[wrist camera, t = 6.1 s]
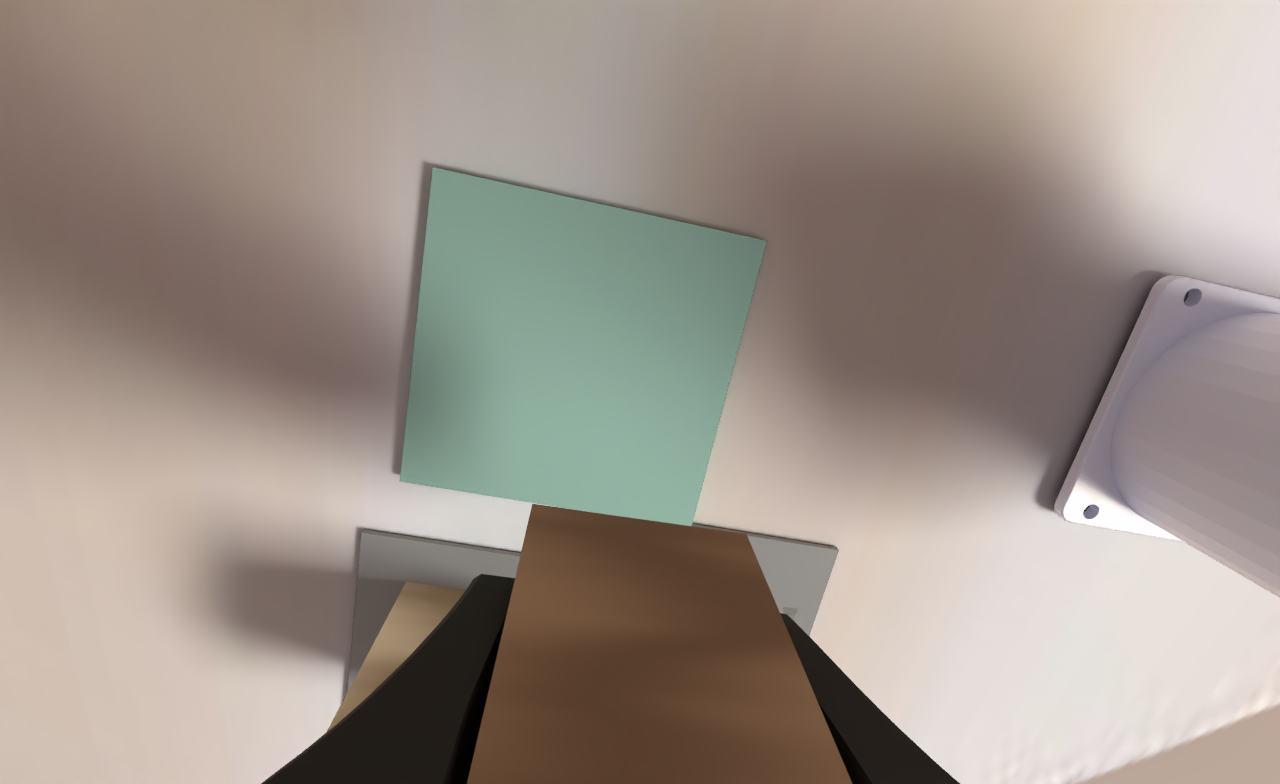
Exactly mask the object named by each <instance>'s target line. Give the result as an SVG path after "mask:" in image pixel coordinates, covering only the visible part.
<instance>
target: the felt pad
mask: <svg viewBox="0 0 1280 784" xmlns="http://www.w3.org/2000/svg"><path fill="white" fill-rule="evenodd" d="M766 242H767V241H766V240H761V239H757V238H752V237H748V236H743V235H739V234H734V233H730V232H725V231H721V230H716V229H712V228H707V227H702V226H698V225H693V224H689V223H684V222H680V221H675V220H671V219H666V218H662V217H657V216H653V215H648V214H643V213H639V212H634V211H630V210H625V209H621V208H616V207H612V206H607V205H603V204H598V203H594V202H589V201H584V200H580V199H575V198H571V197H566V196H562V195H557V194H553V193H548V192H544V191H539V190H535V189H530V188H525V187H521V186H516V185H512V184H507V183H503V182H498V181H494V180H489V179H485V178H480V177H475V176H471V175H466V174H462V173H457V172H453V171H448V170H444V169H439V168H435V167H433V169H432V178H431V188H430V197H429V207H428V216H427V226H426V235H425V245H424V254H423V264H422V273H421V283H420V292H419V302H418V311H417V321H416V330H415V340H414V349H413V359H412V368H411V378H410V387H409V397H408V406H407V416H406V425H405V435H404V444H403V454H402V464H401V473H400V481H401V482H407V483H414V484H420V485H426V486H432V487H438V488H445V489H451V490H457V491H463V492H469V493H476V494H482V495H488V496H494V497H501V498H507V499H513V500H519V501H525V502H532V503H538V504H544V505H550V506H557V507H563V508H569V509H575V510H581V511H588V512H594V513H600V514H608V515H615V516H622V517H629V518H636V519H643V520H650V521H658V522H665V523H672V524H679V525H686V526H692V523H693V519H694V515H695V512H696V508H697V504H698V500H699V496H700V493H701V489H702V485H703V481H704V477H705V474H706V470H707V466H708V462H709V458H710V455H711V451H712V447H713V443H714V440H715V436H716V432H717V428H718V424H719V421H720V417H721V413H722V409H723V405H724V402H725V398H726V394H727V390H728V386H729V383H730V379H731V375H732V371H733V368H734V364H735V360H736V356H737V352H738V349H739V345H740V341H741V337H742V333H743V330H744V326H745V322H746V318H747V314H748V311H749V307H750V303H751V299H752V295H753V292H754V288H755V284H756V280H757V277H758V273H759V269H760V265H761V261H762V258H763V254H764V250H765V246H766Z"/></svg>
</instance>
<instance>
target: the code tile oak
mask: <svg viewBox="0 0 1280 784" xmlns="http://www.w3.org/2000/svg"><path fill="white" fill-rule="evenodd" d="M520 556H521V553H517V552H510V551H504V550H497V549H491V548H484V547H477V546H471V545H464V544H457V543H451V542H444V541H438V540H431V539H424V538H418V537H411V536H404V535H398V534H391V533H385V532H378V531H371V530H365V529H364V530H363V531H362V533H361V542H360V554H359V565H358V577H357V588H356V599H355V611H354V622H353V634H352V645H351V657H350V668H349V679H348V691H349V689H350V687H351V685H352V683H353V681H354V679H355V678H356V676H357V674H358V672H359V670H360V668H361V666H362V664H363V662H364V661H365V659H366V657H367V655H368V653H369V651H370V649H371V647H372V645H373V643H374V642H375V640H376V638H377V636H378V634H379V632H380V630H381V628H382V626H383V625H384V623H385V621H386V619H387V617H388V615H389V613H390V611H391V609H392V607H393V606H394V604H395V602H396V600H397V598H398V596H399V594H400V592H401V590H402V589H403V587H404V585H405V583H406V581H408V582H416V583H423V584H430V585H437V586H444V587H451V588H458V589H465V590H466V589H467V588H468V586H469V585H470V583H471V582H472V580H473V579H474V578H475V577H477V576H479V575H480V574H487V575H494V576H502V577H510V578H515V577H516V573H517V568H518V564H519V560H520ZM348 691H347V693H348Z"/></svg>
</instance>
